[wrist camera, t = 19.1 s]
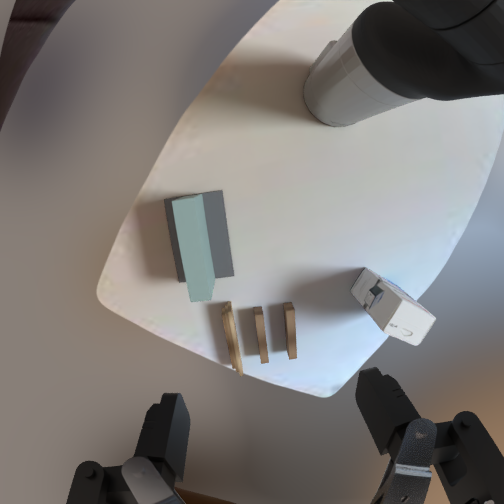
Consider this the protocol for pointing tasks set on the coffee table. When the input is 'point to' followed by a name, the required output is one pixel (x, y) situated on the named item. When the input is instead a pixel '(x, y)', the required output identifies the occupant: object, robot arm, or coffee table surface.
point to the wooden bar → (232, 337)
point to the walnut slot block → (289, 327)
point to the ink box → (392, 308)
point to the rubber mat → (215, 234)
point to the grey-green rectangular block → (194, 246)
